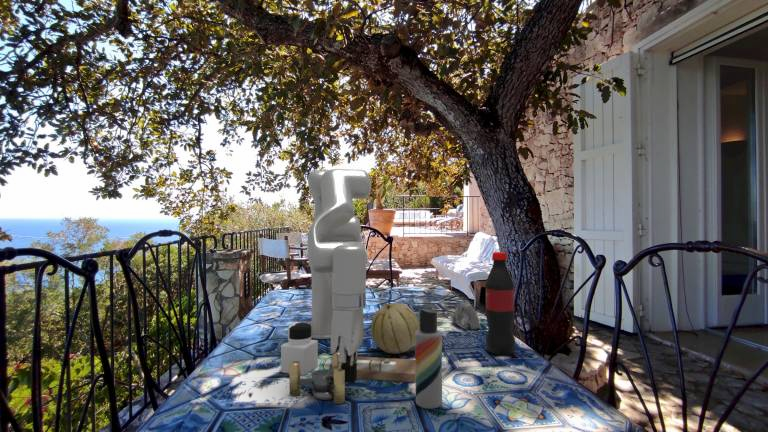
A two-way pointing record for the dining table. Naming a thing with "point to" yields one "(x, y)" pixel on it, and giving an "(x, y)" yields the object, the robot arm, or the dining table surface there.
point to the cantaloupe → (394, 328)
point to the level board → (390, 376)
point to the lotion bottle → (428, 361)
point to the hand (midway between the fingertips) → (348, 381)
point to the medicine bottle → (299, 349)
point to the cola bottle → (500, 307)
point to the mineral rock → (466, 316)
